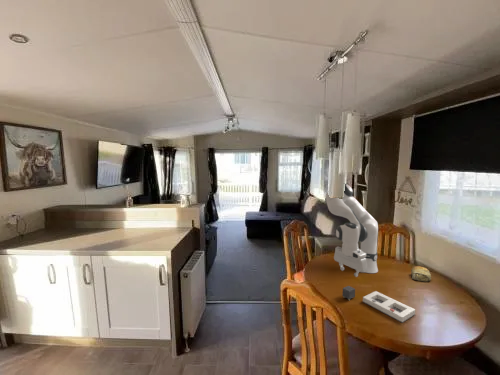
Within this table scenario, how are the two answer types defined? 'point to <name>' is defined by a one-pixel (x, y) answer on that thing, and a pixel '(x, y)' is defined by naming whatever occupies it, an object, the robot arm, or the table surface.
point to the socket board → (389, 306)
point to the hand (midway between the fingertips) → (348, 273)
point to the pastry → (420, 274)
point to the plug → (348, 292)
